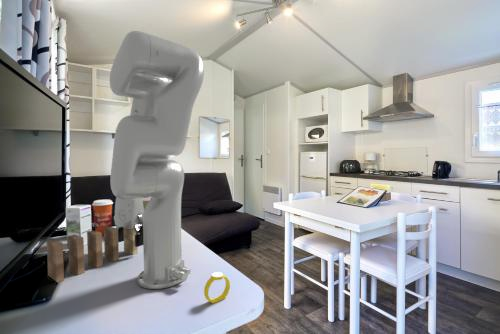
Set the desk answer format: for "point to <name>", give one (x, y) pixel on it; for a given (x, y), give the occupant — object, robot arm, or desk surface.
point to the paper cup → (102, 214)
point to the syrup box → (78, 221)
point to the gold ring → (213, 277)
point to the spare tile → (130, 241)
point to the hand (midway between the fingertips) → (130, 243)
